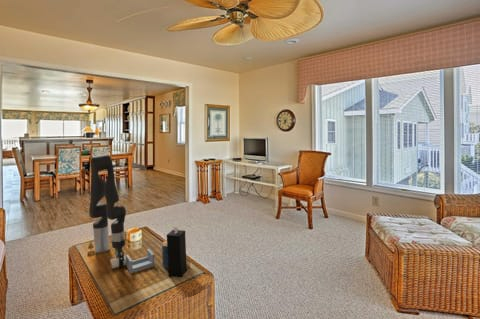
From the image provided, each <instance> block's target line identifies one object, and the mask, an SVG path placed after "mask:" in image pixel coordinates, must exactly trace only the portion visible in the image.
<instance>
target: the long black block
mask: <svg viewBox="0 0 480 319" xmlns="http://www.w3.org/2000/svg"><path fill="white" fill-rule="evenodd" d="M166 240H167V251H168V269H167V270H168V277H172V278H173V277H175V278H182V277H183V276H184V275H185V274H186V272H187V271H188V270H187V267H188V265H187V244H186V243H187V242H186V230H183V229H182V230H181V229H179V227H177V226H176V227H175V226H173V229H172V230H170V231H169V232H168V233H167V234H166Z"/></svg>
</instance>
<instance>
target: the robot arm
mask: <svg viewBox="0 0 480 319" xmlns="http://www.w3.org/2000/svg"><path fill="white" fill-rule="evenodd" d="M101 171H107V176H106V177H107V178H106V181H105V179H104V178H103V177H102V176H101V175H100V174H99V172H101ZM114 171H115V170H114V164H113V160H112V158H111V156H110V155H109V154H101V155H95V156H92V157H91V158H90V173H91V174H90V200H89V201H90V202H89V208H88V214H89V216H90V218H91V219H97V218H99V219H98V220H96V221H95V222H93V223H92V228H93V240H94V241H93V243H94V244H93V245H94V251H95V253H99V254H100V253H105V252H108V251H109V250H110V248H113V249H114V254H115V258H118V259H119V267H118V268H122V267H124V265H123V261H124V256H125V254H124V253H125V252H124V249H123V247H125V246H126V235H125V225H124V224H125V220H126V219H125V218H126V215H127V210H126V208H125V206H124V205H116V206H115V204H117V202H119V201H120V197H119V196H120V195H119V193H118V189H117V186H116V177H115V172H114ZM103 198H105V200H106V202H105V203H104V202H103V203H99V202H101V200H103ZM108 219H109V220H110V221H111V220H112V221H113V222H112V223H110V231H111V236H110V235H109V234H110V233H109V220H108ZM110 239H111V241H110ZM110 242H111V247H110ZM121 258H122V259H121Z"/></svg>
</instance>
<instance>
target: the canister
mask: <svg viewBox="0 0 480 319" xmlns="http://www.w3.org/2000/svg"><path fill="white" fill-rule="evenodd" d="M161 250H162V251H161V258H162V261H161V262H162V267H163V268H164V269H167V270H168V251H167V239H166V240H164V241H163V242H162V245H161Z"/></svg>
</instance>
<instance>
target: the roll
mask: <svg viewBox="0 0 480 319" xmlns="http://www.w3.org/2000/svg"><path fill="white" fill-rule="evenodd" d="M126 255H127V254H124V261H123V266H127V265H126ZM121 259H122V258H121ZM110 268H111V269H116V268H120V267H119V259H118V258H116V257H115V258H111V259H110Z"/></svg>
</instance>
